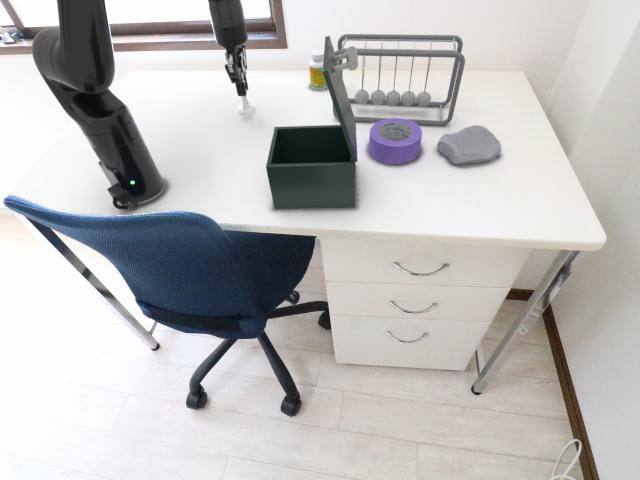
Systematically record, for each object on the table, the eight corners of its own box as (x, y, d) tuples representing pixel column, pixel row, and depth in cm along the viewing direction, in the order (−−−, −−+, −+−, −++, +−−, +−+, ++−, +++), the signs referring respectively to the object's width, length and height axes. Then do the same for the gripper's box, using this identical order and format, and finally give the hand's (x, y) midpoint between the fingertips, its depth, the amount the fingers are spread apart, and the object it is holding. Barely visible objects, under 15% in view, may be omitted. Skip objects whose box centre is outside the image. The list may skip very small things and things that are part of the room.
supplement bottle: (319, 92, 109) (317, 58, 102) (307, 86, 112) (304, 52, 105) (332, 85, 111) (331, 51, 104) (320, 80, 114) (318, 46, 107)
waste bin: (274, 208, 77) (265, 166, 69) (281, 168, 86) (274, 126, 78) (354, 207, 76) (355, 164, 68) (353, 166, 85) (353, 124, 77)
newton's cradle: (332, 120, 98) (330, 50, 85) (339, 100, 105) (337, 33, 92) (450, 126, 93) (467, 53, 80) (449, 105, 100) (464, 34, 87)
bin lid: (322, 72, 55) (354, 61, 54) (325, 36, 64) (352, 26, 63) (353, 163, 68) (380, 156, 66) (352, 122, 77) (375, 115, 75)
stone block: (500, 163, 85) (476, 133, 90) (509, 148, 81) (483, 118, 86) (455, 178, 83) (433, 148, 88) (462, 164, 79) (438, 132, 84)
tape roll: (358, 149, 89) (359, 131, 85) (392, 130, 94) (394, 112, 90) (395, 171, 83) (397, 152, 79) (429, 149, 87) (433, 131, 84)
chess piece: (252, 115, 99) (245, 78, 92) (235, 114, 100) (226, 77, 92) (258, 106, 102) (251, 70, 95) (241, 105, 103) (233, 69, 96)
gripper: (218, 10, 89) (234, 81, 102) (204, 31, 80) (223, 106, 93) (249, 9, 89) (261, 80, 102) (238, 29, 80) (253, 105, 92)
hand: (243, 92), depth 97 cm, fingers closed on chess piece
